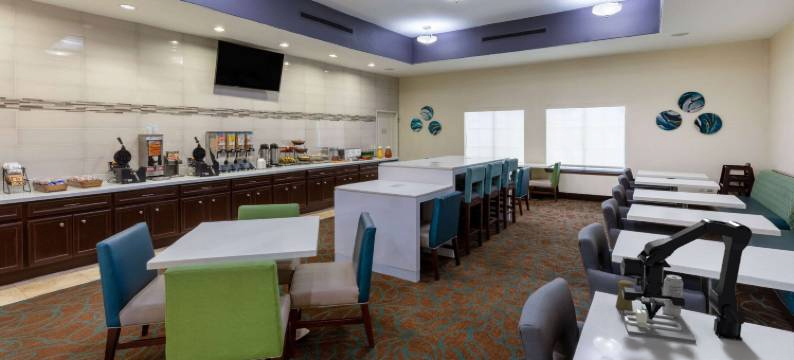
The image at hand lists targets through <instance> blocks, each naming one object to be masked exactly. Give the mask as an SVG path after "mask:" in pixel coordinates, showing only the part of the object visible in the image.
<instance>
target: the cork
mask: <svg viewBox="0 0 794 360" xmlns="http://www.w3.org/2000/svg"><path fill="white" fill-rule="evenodd" d="M617 287H618V289H619V290H618V294H617V296H616V298H617V299H616V303H615V307H617V308H616V309H618V310H620V311H623V312H625V310H627V311H634V310H633V308H634V307H633V301H630V300H625V299H624V298H623V296H622V289H623V288H624V287H626V288H634V285H633V282H631V281H629V280H624V279H623V280H621V279H620V280H619V281H618V282H617Z"/></svg>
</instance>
